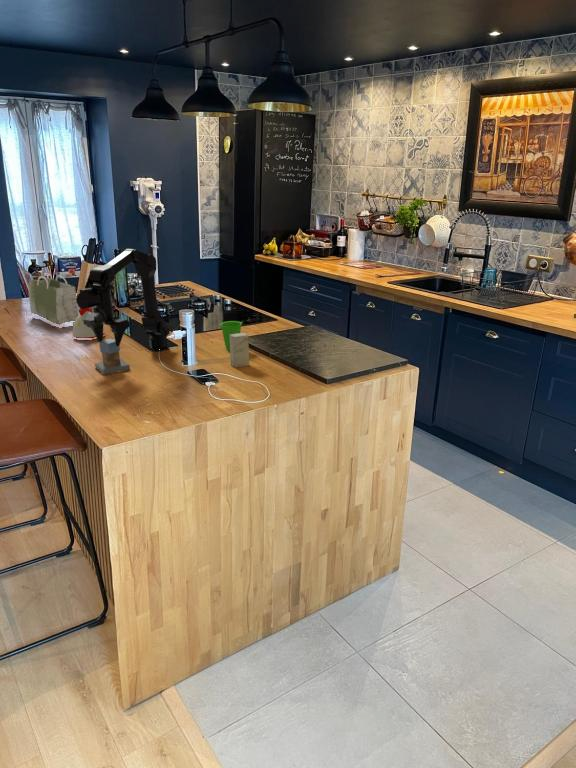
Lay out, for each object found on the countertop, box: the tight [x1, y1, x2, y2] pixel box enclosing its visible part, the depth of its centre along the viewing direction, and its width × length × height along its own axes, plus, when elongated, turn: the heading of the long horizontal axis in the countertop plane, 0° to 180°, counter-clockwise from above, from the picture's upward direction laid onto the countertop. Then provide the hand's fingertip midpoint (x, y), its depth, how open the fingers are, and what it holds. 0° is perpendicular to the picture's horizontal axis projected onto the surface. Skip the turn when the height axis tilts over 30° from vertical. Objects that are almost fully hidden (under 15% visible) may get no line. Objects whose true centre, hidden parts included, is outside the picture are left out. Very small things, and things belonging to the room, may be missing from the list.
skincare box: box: [229, 332, 250, 368], centre depth 221 cm, size 6×4×12 cm
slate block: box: [98, 338, 121, 354], centre depth 219 cm, size 5×5×4 cm
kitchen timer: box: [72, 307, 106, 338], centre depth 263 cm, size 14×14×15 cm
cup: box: [219, 320, 243, 352], centre depth 241 cm, size 9×9×11 cm
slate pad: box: [94, 357, 131, 375], centre depth 222 cm, size 10×10×2 cm
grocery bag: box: [28, 274, 80, 325], centre depth 291 cm, size 32×14×23 cm, turn 46°
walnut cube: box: [101, 351, 121, 367], centre depth 220 cm, size 5×5×5 cm
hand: (109, 344), depth 218 cm, fingers open, 9 cm apart
